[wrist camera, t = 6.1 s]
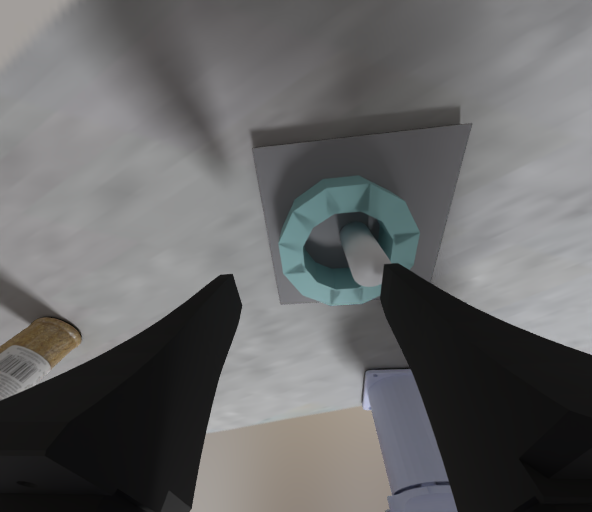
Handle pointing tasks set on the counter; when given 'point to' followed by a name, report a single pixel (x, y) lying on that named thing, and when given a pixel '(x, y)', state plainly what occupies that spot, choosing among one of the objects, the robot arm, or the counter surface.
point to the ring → (332, 200)
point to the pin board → (357, 225)
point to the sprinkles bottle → (34, 354)
